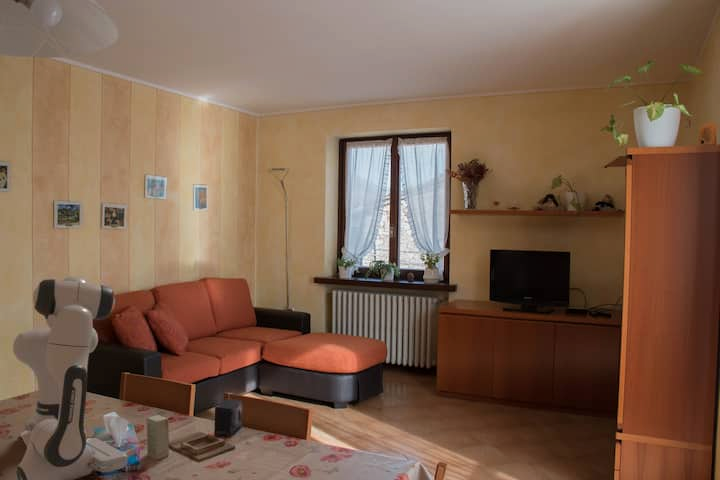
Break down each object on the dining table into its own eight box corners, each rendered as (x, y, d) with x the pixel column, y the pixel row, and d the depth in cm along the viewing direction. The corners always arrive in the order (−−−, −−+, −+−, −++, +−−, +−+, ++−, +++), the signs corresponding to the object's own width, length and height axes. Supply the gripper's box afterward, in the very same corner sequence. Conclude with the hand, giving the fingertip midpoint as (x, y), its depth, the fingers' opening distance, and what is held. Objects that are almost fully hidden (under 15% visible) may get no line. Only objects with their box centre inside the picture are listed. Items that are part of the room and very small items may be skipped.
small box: (230, 438, 202) (231, 408, 202) (213, 436, 203) (213, 406, 203) (242, 427, 212) (243, 399, 212) (226, 425, 214) (226, 397, 213)
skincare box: (169, 456, 186) (169, 418, 186) (157, 460, 183) (157, 422, 182) (158, 450, 190) (158, 413, 190) (146, 454, 187) (146, 417, 186)
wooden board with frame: (164, 445, 195) (164, 438, 195) (199, 433, 206) (199, 427, 206) (199, 461, 182) (199, 454, 182) (235, 448, 193) (235, 441, 193)
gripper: (97, 460, 161) (144, 445, 171) (65, 440, 174) (110, 428, 184) (97, 482, 161) (144, 466, 171) (65, 461, 174) (110, 448, 185)
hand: (126, 446), depth 178 cm, fingers open, 8 cm apart
